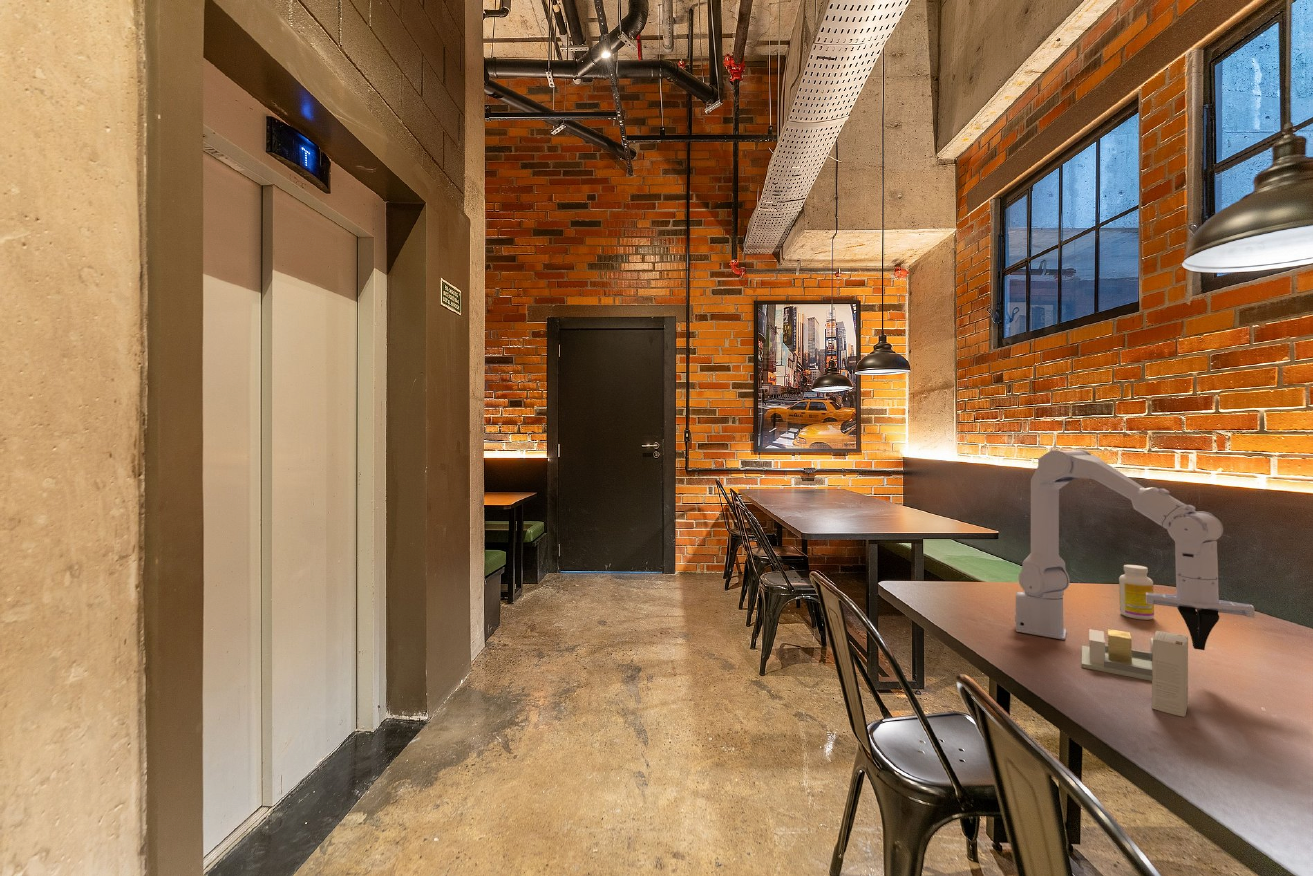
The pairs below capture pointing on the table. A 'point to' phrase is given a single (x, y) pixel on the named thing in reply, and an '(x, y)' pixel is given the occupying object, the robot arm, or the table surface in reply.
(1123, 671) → the vise
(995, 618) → the table surface
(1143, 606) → the supplement bottle
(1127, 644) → the block
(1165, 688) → the skincare box
